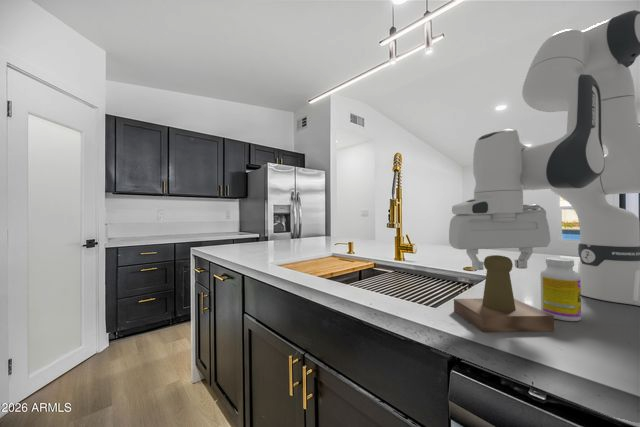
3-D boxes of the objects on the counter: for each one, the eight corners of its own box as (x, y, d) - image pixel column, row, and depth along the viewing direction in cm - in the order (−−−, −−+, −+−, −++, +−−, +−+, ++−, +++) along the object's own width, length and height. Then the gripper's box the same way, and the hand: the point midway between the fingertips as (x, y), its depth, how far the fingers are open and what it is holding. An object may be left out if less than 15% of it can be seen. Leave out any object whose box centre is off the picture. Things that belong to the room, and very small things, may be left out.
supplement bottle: (585, 325, 54) (584, 262, 54) (544, 318, 58) (543, 260, 58) (576, 314, 60) (575, 258, 60) (538, 309, 63) (537, 255, 63)
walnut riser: (512, 310, 62) (512, 298, 62) (554, 331, 51) (553, 315, 51) (453, 311, 62) (453, 298, 62) (483, 332, 51) (482, 316, 51)
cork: (522, 312, 53) (521, 258, 54) (490, 311, 54) (489, 257, 54) (505, 302, 59) (504, 253, 60) (477, 301, 60) (476, 253, 60)
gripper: (533, 204, 60) (534, 264, 60) (444, 207, 60) (446, 267, 60) (558, 203, 54) (560, 270, 54) (459, 206, 54) (461, 273, 54)
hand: (499, 268), depth 57 cm, fingers open, 8 cm apart
